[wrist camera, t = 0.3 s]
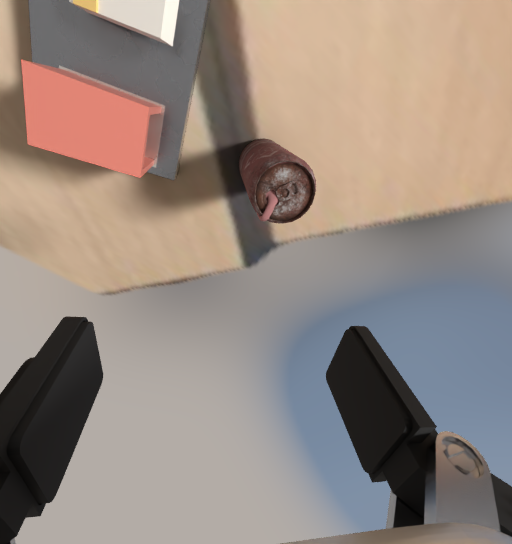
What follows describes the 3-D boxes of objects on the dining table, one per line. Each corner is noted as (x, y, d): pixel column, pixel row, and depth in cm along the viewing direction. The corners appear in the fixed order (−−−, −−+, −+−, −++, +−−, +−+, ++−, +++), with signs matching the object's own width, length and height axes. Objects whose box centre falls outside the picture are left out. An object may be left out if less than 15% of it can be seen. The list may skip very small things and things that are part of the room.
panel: (38, -251, 18) (-5, -337, 14) (233, -121, 22) (236, -164, 18) (51, 135, 30) (30, 139, 26) (177, 174, 34) (172, 182, 30)
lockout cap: (62, 69, 25) (21, 59, 19) (161, 106, 27) (149, 107, 22) (63, 136, 27) (27, 144, 22) (153, 165, 30) (140, 178, 25)
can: (229, 176, 35) (237, 212, 23) (252, 128, 32) (274, 141, 20) (268, 197, 37) (292, 239, 25) (292, 154, 34) (333, 179, 23)
